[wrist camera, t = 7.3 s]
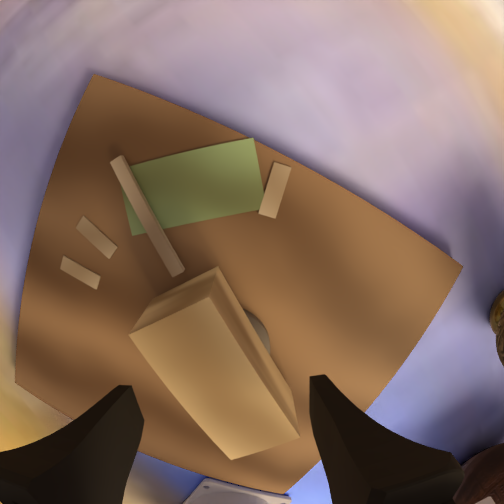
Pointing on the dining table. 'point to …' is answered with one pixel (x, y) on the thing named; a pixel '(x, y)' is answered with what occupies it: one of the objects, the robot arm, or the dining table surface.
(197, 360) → the peg key
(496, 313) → the cup
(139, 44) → the dining table surface
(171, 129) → the brown flat square board
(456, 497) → the wooden sphere
